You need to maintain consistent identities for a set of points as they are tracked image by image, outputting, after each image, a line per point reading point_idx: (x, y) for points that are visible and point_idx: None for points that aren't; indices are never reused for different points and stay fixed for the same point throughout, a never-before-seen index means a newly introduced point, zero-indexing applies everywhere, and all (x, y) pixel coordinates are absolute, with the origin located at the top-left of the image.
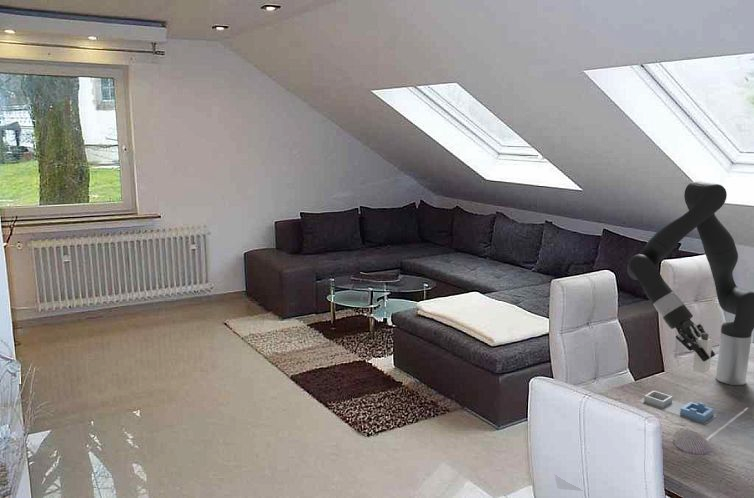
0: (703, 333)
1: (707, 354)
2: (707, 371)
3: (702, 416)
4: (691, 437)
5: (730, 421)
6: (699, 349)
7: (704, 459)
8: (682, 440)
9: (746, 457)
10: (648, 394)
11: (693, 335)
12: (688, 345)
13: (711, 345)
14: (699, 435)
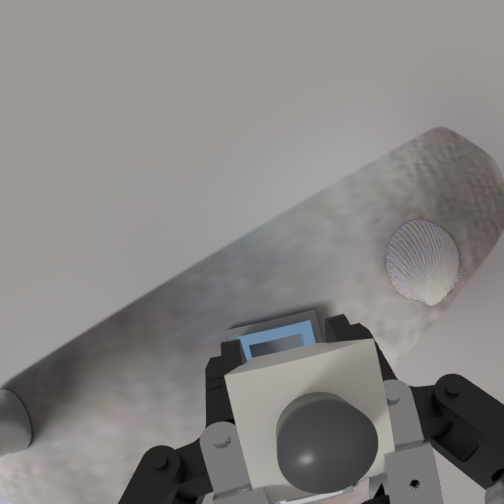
0: (336, 470)
1: (338, 334)
2: (277, 352)
3: (310, 325)
4: (446, 247)
5: (216, 298)
6: (395, 378)
7: (441, 209)
8: (457, 260)
9: (357, 171)
10: (324, 494)
11: (438, 490)
12: (446, 445)
13: (251, 365)
14: (425, 243)
